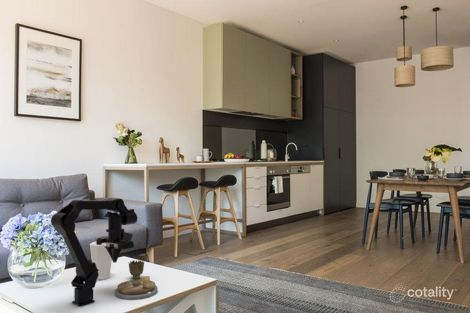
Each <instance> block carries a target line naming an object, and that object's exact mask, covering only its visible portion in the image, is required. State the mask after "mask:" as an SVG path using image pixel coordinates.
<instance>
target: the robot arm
mask: <svg viewBox="0 0 470 313" xmlns="http://www.w3.org/2000/svg"><path fill="white" fill-rule="evenodd" d="M82 210H87V211H88V210H105V211H107V212H106V213H105V214H104V215H103V218H106V219H107V222H108V224H107V225H108V226H107V229H105V232H106V233H107V236H102V237H97V239H96V240H95V242H96V245H101V244H102V243H106V246H105V248H106V250H107V251H108V253H109V255H110V257H111V259H112V263H113V264H114V263H117V261H118V259H119V256H120V254H121V251H122V250H123V251H124V250H128V249H133V248H135V242H134V240H132V239H133V235H134V234H133V233H130V232H126V231H125V228H123V226H128V225H134V224H136V223H137V222H138V214H137V213H136V212H135V209H133V208H130V209H129V208H127V206H126V204H125V202H124V200H123V198H117V197H107V198H104V199H101V200H94V199H93V200H91V199H90V200H88V199H86V200H85V199H83V200H82V199H81V200H80V199H74V200H73V199H72V200H71V201H70V202H69V203H68V204H67V205H65V206H64V207H63V208H61V209H59V210H58V212H55V213H54V214H53V215H52V216H51V219H50V224H51V226H52V227H53V228H54V230H55V231H56V232H57V233H59V235H61V237H62V239H63V240H64V242H65V246H66V247H67V249H68V251H69V253H70V255H71V257H72V259H73V261H74V264H75V274H76V275H75V277H74V278H73V279H72V281H71V282H70V284H71V287H73V290H74V292H73V293H74V295H73V296H74V298H73V301H72V302H71V303H72V304H74V305H76V306H77V305H78V306H79V307H83V306H86V305H88V304H92V303H94V302H96V301H95V299H94V289H95V286H96V284H97V278H98V276H99V274H98V271H99V270H98V269H97V267H96V264H95V263H94V262H92V261H90V260H88V257H87V255H86V253H85V251H84V249H83V247H82V245H81V242H80V240H79V238H78V236H77V234H76V232H75V230H76V220H77V219H78V218H79V216H80V214H81V212H82ZM122 225H123V226H122ZM113 242H114V243H113Z"/></svg>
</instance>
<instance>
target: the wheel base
mask: <svg viewBox="0 0 470 313" xmlns="http://www.w3.org/2000/svg"><path fill="white" fill-rule="evenodd" d="M157 294H158V286H157V285H156V284H155V289H154V290H152V291H150V292H148V293H144V294H136V295H127V294H122V293H119V292H118V291H117V288H116V289H114V296H115V297H116V298H118V299H121V300H126V301H133V300H134V301H135V300H137V301H138V300H144V299H148V298H151V297H153V296H156V295H157Z"/></svg>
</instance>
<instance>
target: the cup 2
mask: <svg viewBox="0 0 470 313" xmlns="http://www.w3.org/2000/svg"><path fill="white" fill-rule="evenodd" d="M144 267H145V261H143V260H132V261H131V260H130V261H129V262H128V268H129V273H130V275H131V276H132V280H140V278H141V276H142V274H143V272H144V269H145V268H144Z"/></svg>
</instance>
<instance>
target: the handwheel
mask: <svg viewBox="0 0 470 313" xmlns="http://www.w3.org/2000/svg"><path fill="white" fill-rule="evenodd" d="M155 285H156V282H155V281H153V280H151V277H150V275H144V276H142V279H140V278H139V279H132V280H131V279H129V280H126V281H122V282H120V283H119V284H117V288H116V289H117V291H118V292H119V293H122V294H127V295H136V294H144V293H148V292H150V291H152V290H154V289H155Z"/></svg>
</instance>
